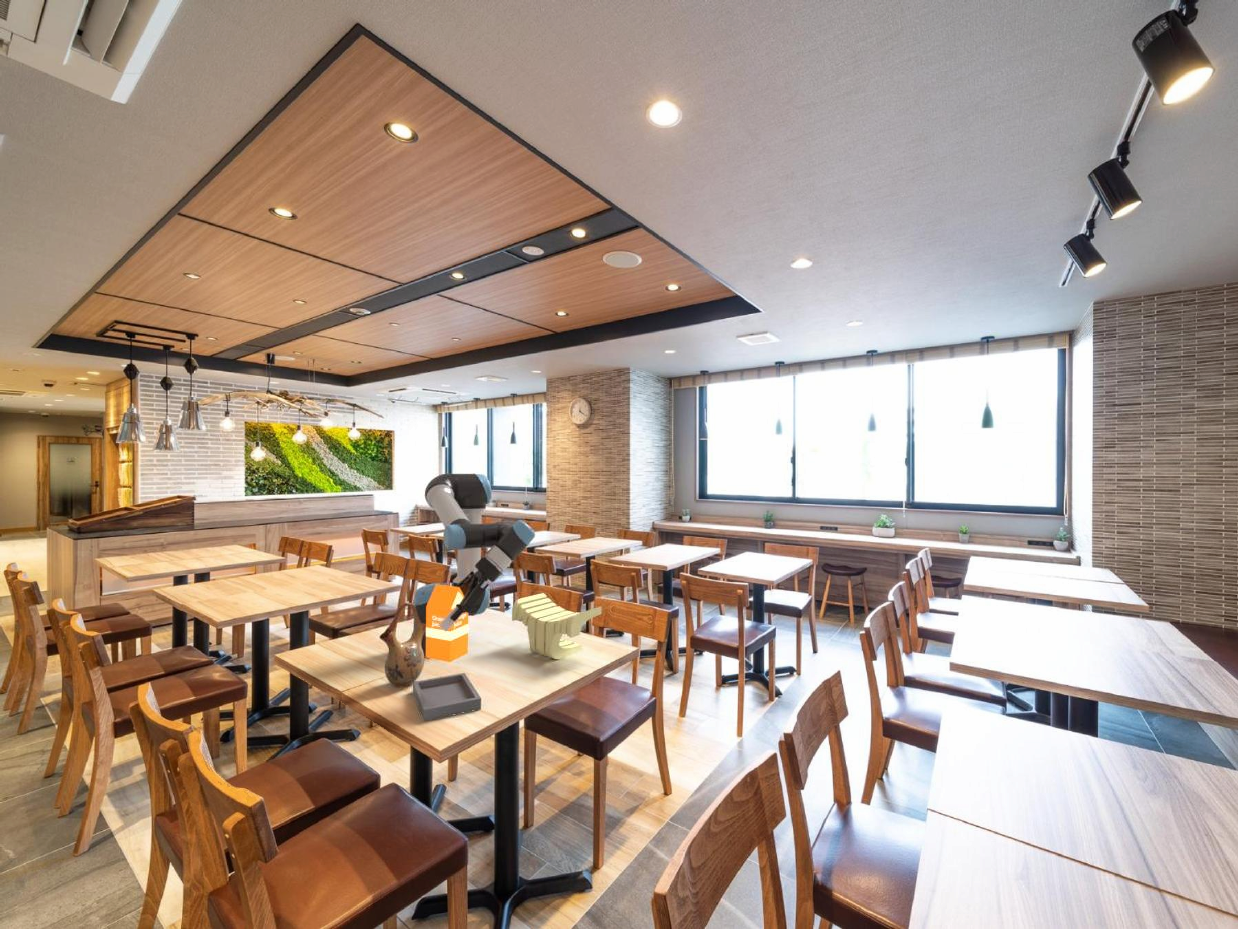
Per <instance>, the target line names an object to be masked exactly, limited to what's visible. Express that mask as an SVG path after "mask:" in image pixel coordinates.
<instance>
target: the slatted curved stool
mask: <svg viewBox="0 0 1238 929" xmlns="http://www.w3.org/2000/svg"><path fill="white" fill-rule="evenodd" d="M602 609H603V608H602V605H601V606H598V607H594V608H591V609H588V610H584V611H582V612H575V611H570V610H566V609H565V608H563V607H561V606H560V605H557V604H556V603H555V602H553V601H552V600H551V599H550V598H549V597H547V595H546V594H545V593H544V592H542V593H538V594H533V595H530V596H526V597H525V596H524V597H520V598H518V599H517V600H516V601H515V602H514V603H513V606H512V610H511V611H512V614H511V621H513V622H514V621H517V622H522V624H523V625H524V626H525V627H527V628H526V630H527V635H528V642H529V650H530V651H531V652H532V653H536V654H539V655H541V656H545V657H548V658H551V659H554V660H556V659H560V660H562V659H561V658H563V657H565V658H567V656H568V657H570V656H572V655H575V654H578V653H580V652H582V651H581V650H583V646H582V644H581V643H577V642H574V641H571V640H567V639H563V638H562V637H563V635H567V637H569V638H576V637H578V636H580V635H581V630H582V628H583V626H584V625H585V623H587V622H588V621H589V620H591V619H593V618H595V617H597V616H599V615H602V612H603V611H602ZM579 651H580V652H579ZM583 651H584V650H583ZM574 653H575V654H574ZM569 655H570V656H569ZM563 659H564V658H563Z"/></svg>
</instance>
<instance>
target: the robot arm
mask: <svg viewBox="0 0 1238 929" xmlns="http://www.w3.org/2000/svg"><path fill="white" fill-rule="evenodd" d="M424 498H425V501H426V503H427V505H428V506H429V507H430V508H432V509H433V510H434V511H435V513H436V515H437V517H438V518H439V520H440V522H441V523H442V525H443V527H444V530H443V536H442V537H443V542H444V547H445V548H446V549H447V550H457V565H456V567H457V569H456V571H457V572H456V573H457V575H456V577H454V579H453V580H452V586H453V587H460V589H461V591H462V593H463V595H464V597H463V599H462V601H461V602H460V604H457V605H456V607H455V608H454V609H453V610H452V611H451V612H450V613H449V614H448V615H447V617H446V618H445V619H444V620H443V621H442V622H441V623H440V624H439V626H440V627H441V628H442V629H443V630H444V631H445V632H446V631H447V630H448V629H449V628H450V627H451V626H452V625H453V624H454V623H455V622H456V621H457V620H458V618H459V617H460V616H461V615H462V614H463V613H465V612H467V613H468V617H473V616H477V615H482V614H483V613H485V612H486V611H487V609H488V607H489V604H490V597H491V592H490V584H489V583H488V581H490V582H491V583H494V582H495V581H496V580H497V579H499V577H500V576H501V574H502V573H501V572H504V571H505V570H506V569H507V568H510V567H511V563H513V562H514V560H515V559H516V558H518V556H519V555H520V554H521V553H522V552H523V551H524V550H525V549H526V548H527V547H528V546H529V545H530V543H531V542H532V541H533V540H534V539H535V537H536V532H535V531H534V529H533V528H532V527H531V526H530V525H529V524H527V523H526V522H525V521H523V520H521V519H518V520H517V521H516V522H514V523H513V524H511V523H509V522H506V521H504V520H503V521H502V520H496V521H494V522H492V523H482V518H483V517H482V515H483V514H482V513H483V512H484V511H485V510H486V509H487V507H486V506H487V505H489V504H490V503H491V502H492V486H491V482H490V481H489V478H488V477H487V476H486V475H485V474H481V473H480V474H479V473H441V474H439V475H436V477H434V478H432V479H431V480H430V481H429V482H428V484H427V485H426V488H425V490H424ZM482 548H483V549H484V548H489V549H488V551H487V552H486V553H484V557H482ZM436 584H438V585H446V586H449V584H448V583H447V582H436V583H430V584H426V585H423V586H421V587H419V588H417V589H416V590H415V592H414V600H413V605H414V606H415V609H416V611H417V614H418V617H419V619H420V621H421V623H423V624H426V606H427V604H428V602H429V599H430V597H431V595H432V593H433V590H434V588H435V586H436ZM414 629H415V621H414V620H413V630H412V632H411V635H410V638H411V637H412V635H413V633H414ZM421 647H422V650H423V652H424V658H426V632H425V633H424V635H423V637H422V641H421Z"/></svg>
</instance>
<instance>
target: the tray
mask: <svg viewBox="0 0 1238 929" xmlns="http://www.w3.org/2000/svg"><path fill="white" fill-rule="evenodd" d="M412 693H413V696H414V699H415V702H416V705H417V707H418V709H419V713H420V712H421V713H420V715H422V716H421V718H422V721H423V722H427V721H432V720H431V719H433V720H437V718H438V719H442V718H445V717H444V716H447V717H451V716H450V715H452V716H454V715H453V714H456V715H460V714H459V713H461V714H463V713H462V712H466V713H469V712H468V711H470V712H473V711H472V710H475V711H480V710H481V709H482V697H481V696H480V695H479V693H478V691H477V690H476V688H475V687H474V685H473V684H472V682H471V680H470V679H469V677H468V676H467V674H466V672H463V673H456V674H451V675H445V676H439V677H433V678H428V679H422V680H417V681H416V680H415V681H414V682H413V683H412ZM479 709H480V710H479ZM441 717H442V718H441Z"/></svg>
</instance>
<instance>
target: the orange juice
mask: <svg viewBox="0 0 1238 929" xmlns="http://www.w3.org/2000/svg"><path fill="white" fill-rule="evenodd" d="M463 597H464V595H463V593H462V591H461V589H460V587H453V585H448V586H446V585H438V584H436V586H435V588H434V590H433V593H432V595H431V597H430V599H429V602H428V604H427V606H426V657H425V659H426V658H427V659H432V660H437V661H441V662H445V663H446V662H447V663H453V661H456V660H457V659H460V658H461V657H464V656H465V655H467V654H469V616H468V613H467V612H465V613H463V614H462V615H461V616H460V617H459V618H458V620H457V621H456V622H455V623H454V624H453V625H452V626H451V627H450V628H449V629H448V630H447V631H446V632H445V631H444V630H443V629H442V628H441V627H440V626H439V624H440V623H441V622H442V621H443V620H444V619H445V618H446V617H447V615H448V614H449V613H450V612H451V611H452V610H453V609H454V608H455V607H456V605H457V604H460V602H461V601H462V599H463Z"/></svg>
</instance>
